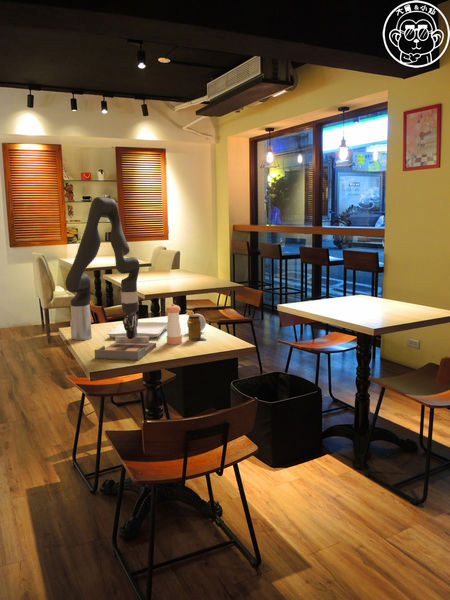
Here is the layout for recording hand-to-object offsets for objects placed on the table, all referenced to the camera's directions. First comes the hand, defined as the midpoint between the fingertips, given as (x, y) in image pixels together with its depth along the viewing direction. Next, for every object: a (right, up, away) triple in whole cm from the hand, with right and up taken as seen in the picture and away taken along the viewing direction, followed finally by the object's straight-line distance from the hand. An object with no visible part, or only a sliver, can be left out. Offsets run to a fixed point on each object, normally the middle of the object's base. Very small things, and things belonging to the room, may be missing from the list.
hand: (131, 337), depth 243 cm
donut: (+28, 0, +32) cm, 43 cm away
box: (-3, -8, -12) cm, 15 cm away
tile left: (-8, -7, -10) cm, 14 cm away
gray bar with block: (0, -2, 0) cm, 3 cm away
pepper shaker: (+19, -3, +11) cm, 22 cm away
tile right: (+2, -7, -12) cm, 14 cm away
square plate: (-1, -1, +33) cm, 33 cm away
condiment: (+29, -2, +17) cm, 34 cm away
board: (0, -6, -1) cm, 6 cm away
